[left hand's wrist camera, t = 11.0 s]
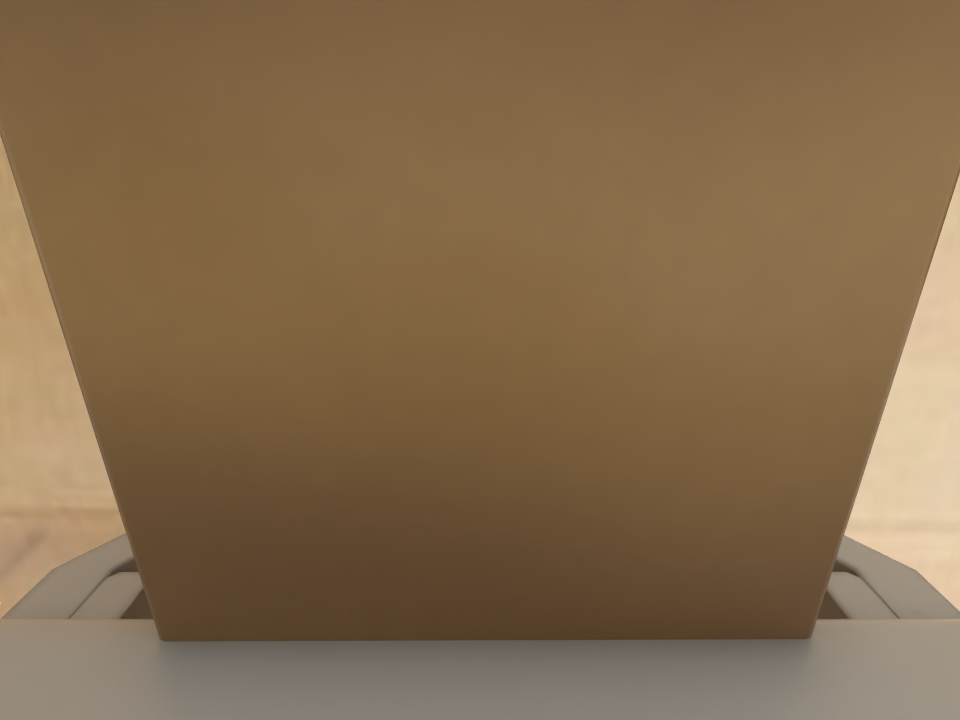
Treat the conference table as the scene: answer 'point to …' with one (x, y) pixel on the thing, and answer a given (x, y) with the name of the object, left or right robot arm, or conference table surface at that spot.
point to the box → (483, 298)
